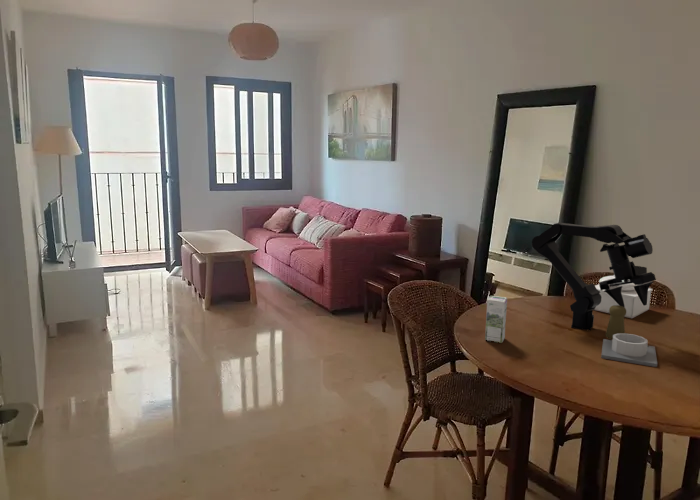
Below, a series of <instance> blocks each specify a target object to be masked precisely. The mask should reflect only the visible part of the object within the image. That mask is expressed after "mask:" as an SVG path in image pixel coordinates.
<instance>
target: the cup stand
mask: <svg viewBox="0 0 700 500" xmlns="http://www.w3.org/2000/svg"><path fill="white" fill-rule="evenodd" d="M648 341H649V340H648V339H647V338H645V337H644V336H641V335H637V334H633V333H628V332H627V333H626V332H625V333H617V334H614V335H613V339H608V338H603V339H602V347H601V355H600V359H604V360H605V359H606V360H612V361H615V362H616V361H617V362H623V363H630V364H636V365H641V366H647V367H653V368H657V367H658V359H657V353H656V346H653V345H648Z"/></svg>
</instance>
